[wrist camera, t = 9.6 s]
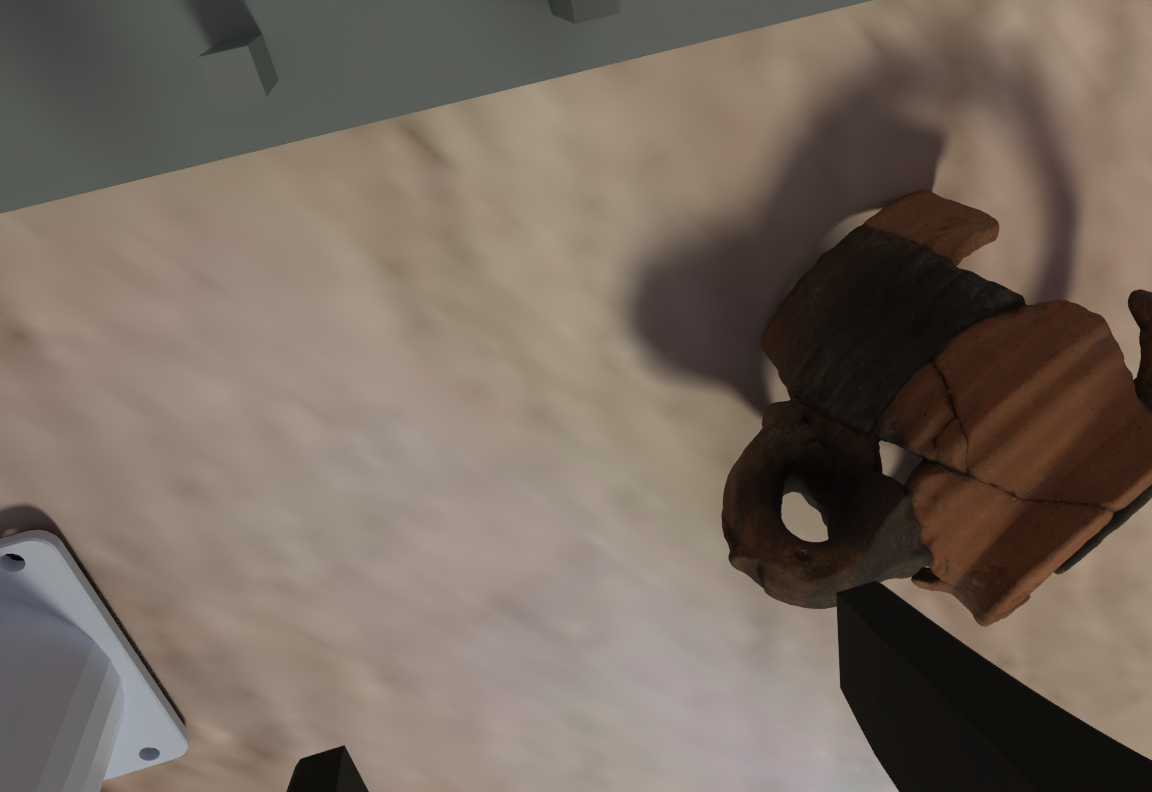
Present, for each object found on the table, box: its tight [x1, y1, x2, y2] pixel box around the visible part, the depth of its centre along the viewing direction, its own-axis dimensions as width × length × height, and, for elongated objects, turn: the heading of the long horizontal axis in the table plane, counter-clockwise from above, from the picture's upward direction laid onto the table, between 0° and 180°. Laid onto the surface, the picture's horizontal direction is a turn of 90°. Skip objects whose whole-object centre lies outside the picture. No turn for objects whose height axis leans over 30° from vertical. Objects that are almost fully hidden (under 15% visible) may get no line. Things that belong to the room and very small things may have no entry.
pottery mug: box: [722, 191, 1152, 626], centre depth 21 cm, size 12×10×8 cm
